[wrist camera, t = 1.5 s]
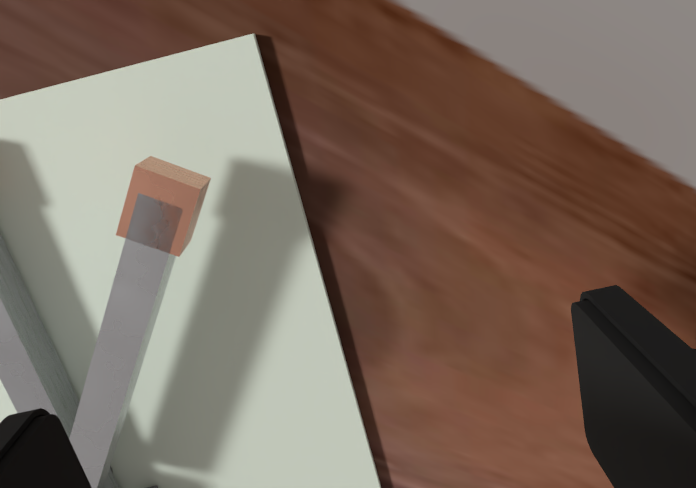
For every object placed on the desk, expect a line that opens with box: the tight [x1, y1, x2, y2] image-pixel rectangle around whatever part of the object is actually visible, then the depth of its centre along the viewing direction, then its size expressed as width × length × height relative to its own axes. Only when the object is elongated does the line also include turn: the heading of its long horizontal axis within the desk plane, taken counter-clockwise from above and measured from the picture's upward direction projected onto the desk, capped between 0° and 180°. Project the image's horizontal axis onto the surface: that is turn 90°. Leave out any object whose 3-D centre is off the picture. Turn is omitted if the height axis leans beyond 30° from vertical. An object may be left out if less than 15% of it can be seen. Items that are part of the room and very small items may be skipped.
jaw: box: [69, 156, 211, 488], centre depth 26 cm, size 18×3×2 cm, turn 159°
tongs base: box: [0, 233, 119, 488], centre depth 28 cm, size 22×3×6 cm, turn 14°
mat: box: [0, 34, 381, 488], centre depth 30 cm, size 26×22×1 cm
